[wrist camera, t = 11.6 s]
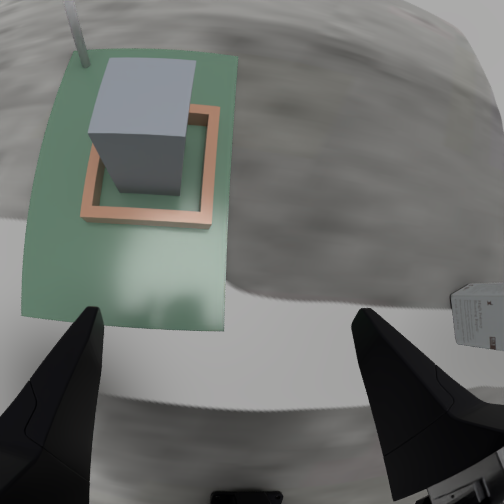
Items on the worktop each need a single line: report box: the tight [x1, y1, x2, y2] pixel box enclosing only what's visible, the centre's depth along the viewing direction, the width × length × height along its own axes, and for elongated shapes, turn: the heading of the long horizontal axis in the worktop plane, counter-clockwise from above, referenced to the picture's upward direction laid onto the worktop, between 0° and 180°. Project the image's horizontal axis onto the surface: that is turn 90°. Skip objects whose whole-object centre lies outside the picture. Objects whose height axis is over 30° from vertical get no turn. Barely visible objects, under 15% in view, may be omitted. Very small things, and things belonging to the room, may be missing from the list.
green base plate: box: [21, 0, 238, 331], centre depth 17 cm, size 25×16×11 cm, turn 178°
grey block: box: [88, 57, 196, 196], centre depth 18 cm, size 5×5×10 cm
